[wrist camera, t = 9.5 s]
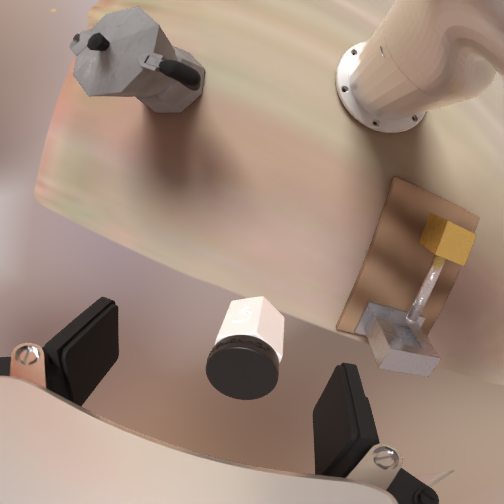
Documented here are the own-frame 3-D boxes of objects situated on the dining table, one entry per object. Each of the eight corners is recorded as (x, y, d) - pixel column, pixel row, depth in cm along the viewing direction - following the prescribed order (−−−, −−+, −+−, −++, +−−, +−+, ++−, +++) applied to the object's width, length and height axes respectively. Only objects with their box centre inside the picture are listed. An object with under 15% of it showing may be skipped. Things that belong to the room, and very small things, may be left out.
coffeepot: (120, 98, 34) (28, 77, 17) (152, 41, 31) (75, -10, 14) (212, 139, 35) (147, 126, 18) (248, 76, 32) (213, 12, 15)
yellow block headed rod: (429, 212, 31) (448, 220, 26) (457, 225, 31) (476, 234, 26) (389, 310, 35) (399, 329, 31) (416, 318, 35) (429, 336, 31)
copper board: (393, 176, 33) (396, 177, 32) (476, 216, 33) (479, 217, 32) (336, 325, 40) (336, 329, 39) (417, 345, 40) (419, 348, 39)
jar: (279, 291, 40) (274, 342, 28) (289, 340, 42) (287, 397, 31) (216, 300, 41) (191, 350, 30) (231, 347, 44) (213, 402, 32)
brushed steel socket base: (368, 300, 38) (387, 339, 29) (424, 316, 37) (450, 353, 28) (353, 330, 39) (367, 373, 30) (409, 343, 39) (430, 383, 30)
